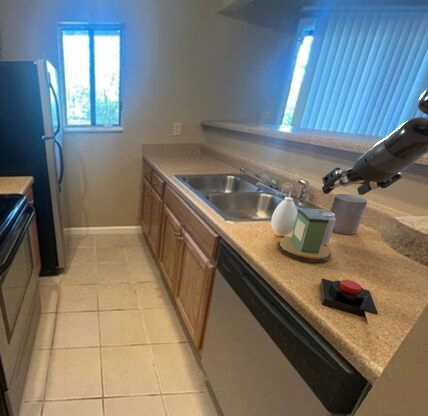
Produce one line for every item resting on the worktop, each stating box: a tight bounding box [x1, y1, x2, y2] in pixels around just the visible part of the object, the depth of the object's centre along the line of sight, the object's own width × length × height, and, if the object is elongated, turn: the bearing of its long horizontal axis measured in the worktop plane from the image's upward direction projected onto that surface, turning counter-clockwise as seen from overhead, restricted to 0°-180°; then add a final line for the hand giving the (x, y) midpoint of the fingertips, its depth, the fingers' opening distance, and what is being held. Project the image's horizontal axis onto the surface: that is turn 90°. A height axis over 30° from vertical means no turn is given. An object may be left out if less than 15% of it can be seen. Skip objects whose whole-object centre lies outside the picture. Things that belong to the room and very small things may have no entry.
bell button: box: [339, 279, 362, 294], centre depth 70 cm, size 4×4×2 cm
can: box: [316, 209, 336, 246], centre depth 99 cm, size 8×8×12 cm
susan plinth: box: [276, 240, 332, 265], centre depth 94 cm, size 15×15×2 cm
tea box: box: [279, 207, 331, 259], centre depth 92 cm, size 14×14×13 cm
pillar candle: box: [329, 193, 369, 236], centre depth 108 cm, size 10×10×15 cm
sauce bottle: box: [270, 190, 298, 237], centre depth 104 cm, size 8×8×18 cm
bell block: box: [319, 278, 379, 319], centre depth 71 cm, size 10×10×4 cm
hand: (341, 191), depth 76 cm, fingers open, 8 cm apart
